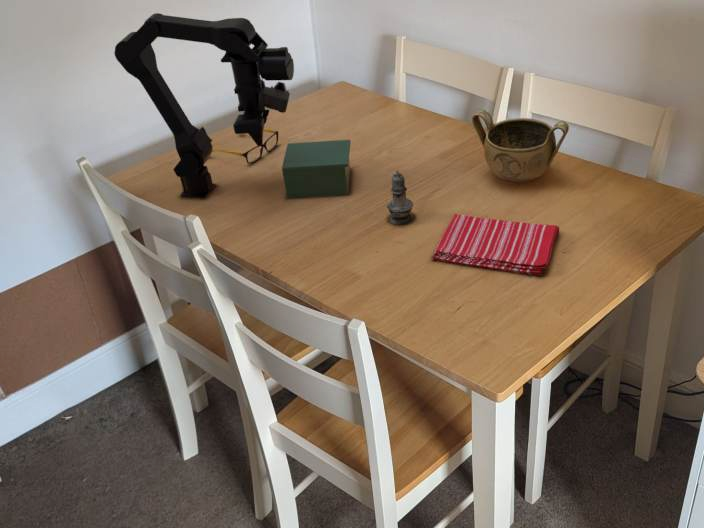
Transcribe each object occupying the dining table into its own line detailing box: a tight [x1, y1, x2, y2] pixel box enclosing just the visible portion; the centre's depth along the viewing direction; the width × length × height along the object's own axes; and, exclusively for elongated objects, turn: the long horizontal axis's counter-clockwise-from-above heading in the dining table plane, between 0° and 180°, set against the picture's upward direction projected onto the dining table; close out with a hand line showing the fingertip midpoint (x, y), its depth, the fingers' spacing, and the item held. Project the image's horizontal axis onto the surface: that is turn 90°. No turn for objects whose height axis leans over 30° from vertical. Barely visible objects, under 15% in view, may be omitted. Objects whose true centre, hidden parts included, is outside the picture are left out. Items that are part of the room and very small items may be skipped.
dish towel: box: [431, 213, 560, 277], centre depth 166 cm, size 17×24×3 cm
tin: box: [281, 160, 351, 199], centre depth 192 cm, size 15×13×7 cm
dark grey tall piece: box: [386, 170, 414, 226], centre depth 175 cm, size 6×6×12 cm
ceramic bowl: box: [471, 108, 570, 183], centre depth 186 cm, size 22×17×15 cm
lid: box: [281, 139, 351, 171], centre depth 190 cm, size 15×13×1 cm
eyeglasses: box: [210, 128, 279, 165], centre depth 211 cm, size 14×14×4 cm
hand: (260, 145), depth 186 cm, fingers closed
